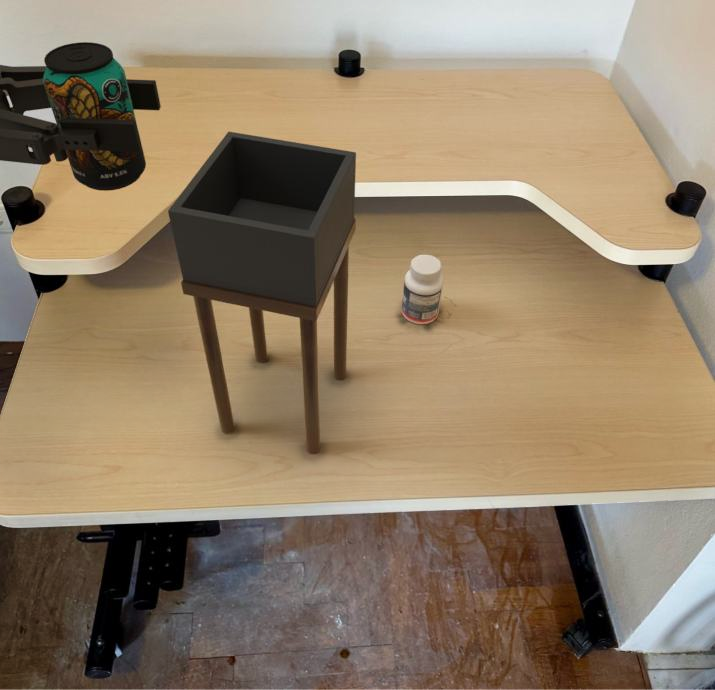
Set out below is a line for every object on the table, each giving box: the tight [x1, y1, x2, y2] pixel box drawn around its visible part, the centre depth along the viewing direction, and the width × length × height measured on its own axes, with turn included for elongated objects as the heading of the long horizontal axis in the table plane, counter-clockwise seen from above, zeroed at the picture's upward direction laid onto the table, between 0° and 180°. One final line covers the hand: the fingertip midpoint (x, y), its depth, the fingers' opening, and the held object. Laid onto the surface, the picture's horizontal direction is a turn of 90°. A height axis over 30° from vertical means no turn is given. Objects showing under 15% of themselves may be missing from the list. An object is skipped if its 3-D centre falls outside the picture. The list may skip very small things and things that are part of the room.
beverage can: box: [43, 41, 147, 192], centre depth 63 cm, size 7×7×12 cm
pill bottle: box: [401, 254, 444, 325], centre depth 91 cm, size 5×5×9 cm
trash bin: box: [167, 131, 357, 307], centre depth 62 cm, size 13×13×8 cm
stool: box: [180, 217, 357, 455], centre depth 74 cm, size 14×13×24 cm
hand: (147, 115), depth 63 cm, fingers closed on beverage can, 7 cm apart
